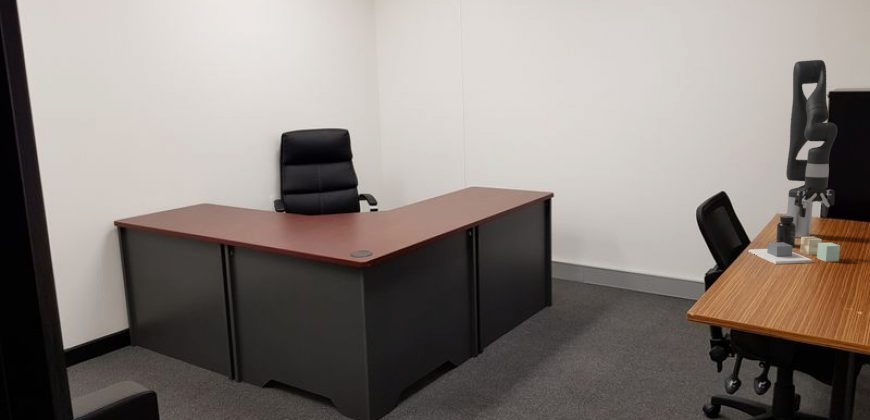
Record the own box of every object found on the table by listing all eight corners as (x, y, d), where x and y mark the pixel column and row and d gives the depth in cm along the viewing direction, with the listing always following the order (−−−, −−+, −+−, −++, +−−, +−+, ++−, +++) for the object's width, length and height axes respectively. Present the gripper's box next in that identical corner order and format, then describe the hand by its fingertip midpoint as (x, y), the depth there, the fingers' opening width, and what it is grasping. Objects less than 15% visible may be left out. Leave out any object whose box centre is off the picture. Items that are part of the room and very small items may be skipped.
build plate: (748, 251, 245) (749, 239, 244) (782, 250, 246) (783, 238, 245) (775, 264, 227) (776, 250, 227) (812, 262, 228) (813, 249, 227)
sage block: (816, 258, 234) (818, 242, 233) (829, 257, 234) (830, 242, 233) (825, 261, 229) (827, 246, 228) (838, 261, 229) (840, 245, 228)
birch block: (800, 251, 244) (801, 237, 242) (812, 251, 244) (813, 236, 243) (808, 255, 239) (809, 239, 238) (820, 254, 239) (822, 239, 238)
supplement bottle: (790, 243, 257) (792, 215, 255) (797, 247, 250) (800, 218, 248) (772, 243, 258) (774, 215, 255) (780, 247, 251) (782, 218, 249)
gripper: (828, 173, 240) (824, 214, 243) (792, 174, 239) (789, 215, 242) (841, 175, 232) (837, 218, 235) (805, 176, 232) (801, 219, 235)
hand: (813, 216), depth 239 cm, fingers open, 8 cm apart
